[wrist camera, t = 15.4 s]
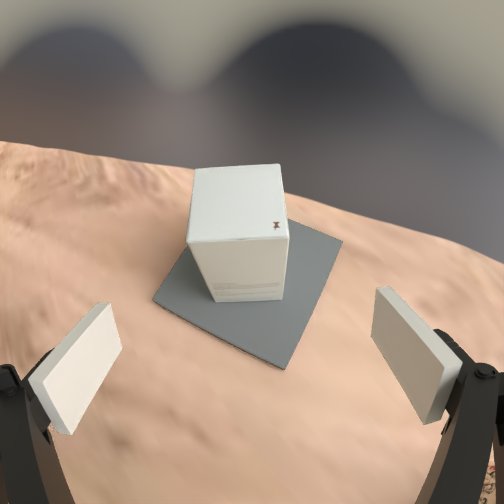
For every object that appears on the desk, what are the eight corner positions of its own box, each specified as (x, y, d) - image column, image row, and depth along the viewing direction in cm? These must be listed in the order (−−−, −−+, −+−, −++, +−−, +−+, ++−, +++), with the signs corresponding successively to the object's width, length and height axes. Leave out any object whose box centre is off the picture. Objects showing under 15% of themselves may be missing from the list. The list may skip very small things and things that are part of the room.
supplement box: (279, 240, 36) (283, 161, 25) (282, 301, 32) (291, 239, 21) (214, 242, 36) (193, 165, 25) (212, 303, 32) (184, 243, 21)
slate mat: (154, 302, 34) (152, 299, 33) (224, 198, 40) (223, 193, 39) (284, 370, 30) (285, 369, 29) (341, 245, 36) (343, 241, 35)
